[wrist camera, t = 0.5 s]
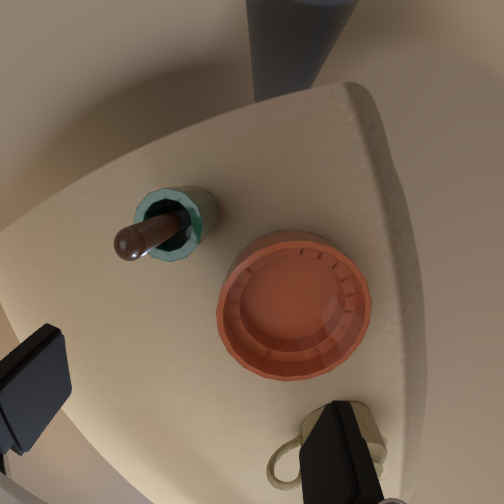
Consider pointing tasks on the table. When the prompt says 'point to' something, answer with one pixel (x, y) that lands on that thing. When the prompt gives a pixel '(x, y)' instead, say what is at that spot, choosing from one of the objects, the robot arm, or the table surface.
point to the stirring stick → (150, 233)
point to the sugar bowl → (361, 414)
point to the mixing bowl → (292, 306)
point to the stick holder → (200, 211)
